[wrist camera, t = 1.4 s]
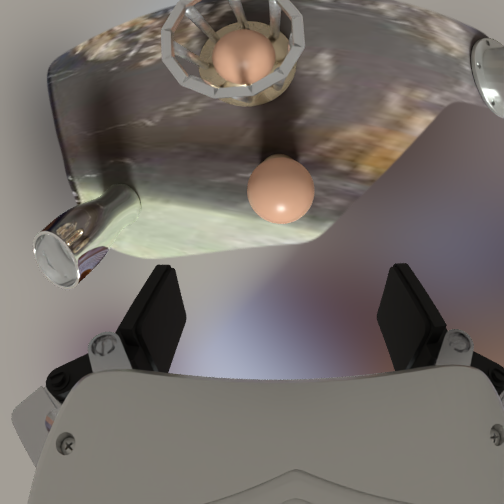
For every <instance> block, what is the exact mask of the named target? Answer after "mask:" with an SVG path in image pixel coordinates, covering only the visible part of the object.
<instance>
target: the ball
mask: <svg viewBox="0 0 504 504" xmlns="http://www.w3.org/2000/svg"><path fill="white" fill-rule="evenodd" d="M275 59H276V55H275V50H274V47H273V45H272V43H271V42H270V40H269V39H268V38H267V37H265V36H264V35H263V34H261V33H259V32H257V31H254V30H249V29H240V30H235V31H231V32H229V33H227V34H225V35H224V36H223V37H221V38H220V39H219V40H218V42H217V43H216V44H215V46H214V49H213V52H212V62H213V66H214V68H215V70H216V71H217V73H218V74H219V75H220V76H221V77H222V78H223V79H225V80H227V81H229V82H231V83H235V84H240V85H247V84H252V83H255V82H257V81H259V80H260V79H262V78H264V77H266V76H267V75H268V74H269V73H270V72H271V70H272V68H273V66H274V64H275Z"/></svg>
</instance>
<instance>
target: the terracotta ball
mask: <svg viewBox="0 0 504 504" xmlns="http://www.w3.org/2000/svg"><path fill="white" fill-rule="evenodd" d="M247 195H248V199H249V202H250V204H251V206H252V208H253V210H254V211H255V212H256V213H257V214H258V215H259V216H260V217H262V218H263V219H265V220H267V221H269V222H272V223H277V224H286V223H290V222H293V221H296V220H298V219H299V218H301V217H302V216H303V215H304V214H305V213H306V212H307V211H308V210H309V208H310V206H311V204H312V202H313V198H314V184H313V180H312V178H311V175H310V174H309V172H308V171H307V170H306V168H305V167H304V166H302V165H301V164H300V163H298V162H297V161H295V160H292V159H289V158H284V157H277V158H271V159H268V160H266V161H264V162H262V163H261V164H260V165H258V166H257V167H256V168H255V170H254V171H253V172H252V174H251V176H250V178H249V181H248V186H247Z"/></svg>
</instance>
